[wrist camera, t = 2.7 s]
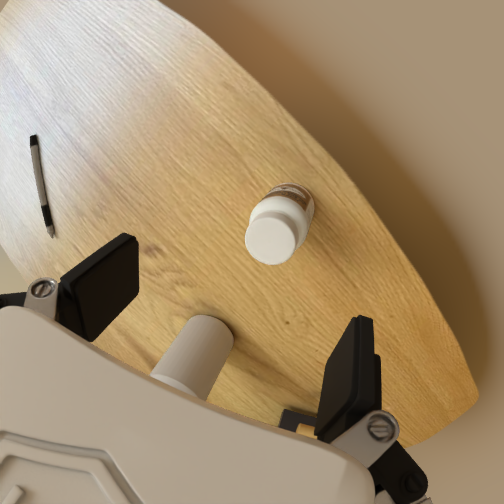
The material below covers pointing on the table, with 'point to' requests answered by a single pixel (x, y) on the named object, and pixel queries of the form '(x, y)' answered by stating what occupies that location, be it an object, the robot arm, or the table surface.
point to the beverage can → (195, 356)
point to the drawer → (298, 423)
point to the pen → (40, 185)
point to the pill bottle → (279, 223)
